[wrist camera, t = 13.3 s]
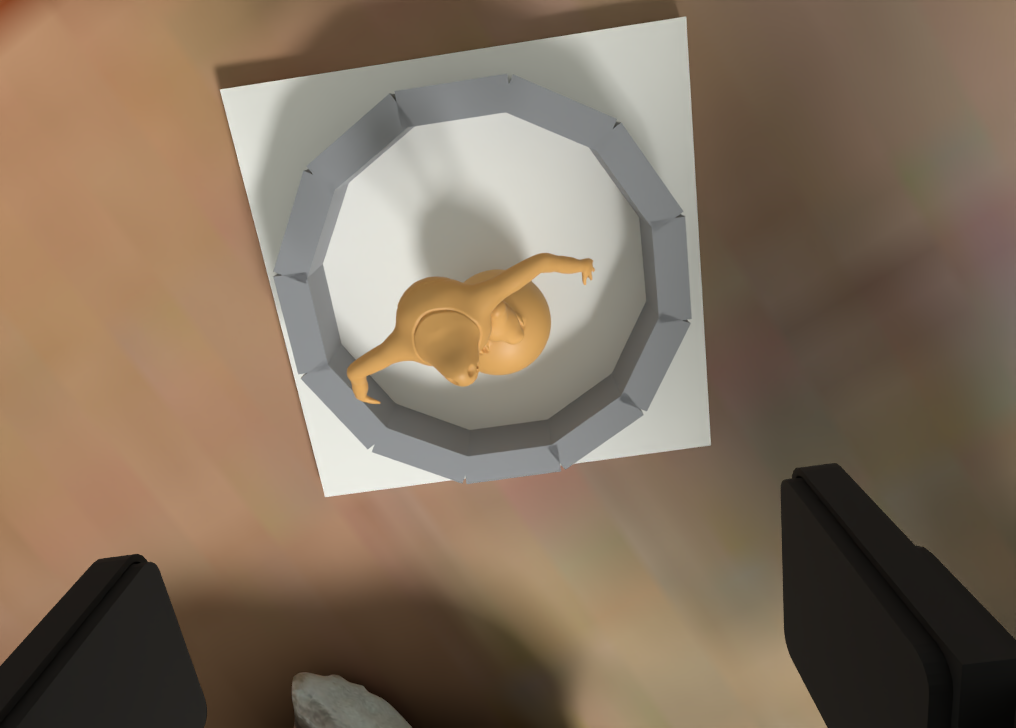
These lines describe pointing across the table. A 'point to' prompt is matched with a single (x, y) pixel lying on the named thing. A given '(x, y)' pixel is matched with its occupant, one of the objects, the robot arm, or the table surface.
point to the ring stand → (486, 249)
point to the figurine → (470, 323)
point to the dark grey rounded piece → (339, 704)
